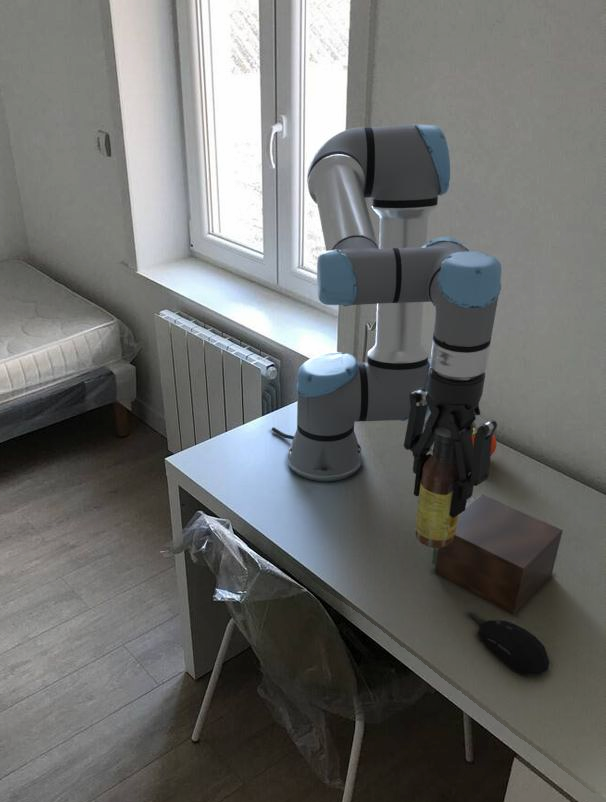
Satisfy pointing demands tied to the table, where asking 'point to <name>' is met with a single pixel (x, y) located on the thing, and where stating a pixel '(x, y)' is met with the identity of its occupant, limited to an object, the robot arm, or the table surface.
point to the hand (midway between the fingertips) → (438, 502)
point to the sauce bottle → (438, 493)
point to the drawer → (435, 551)
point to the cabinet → (499, 553)
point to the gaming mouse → (514, 646)
